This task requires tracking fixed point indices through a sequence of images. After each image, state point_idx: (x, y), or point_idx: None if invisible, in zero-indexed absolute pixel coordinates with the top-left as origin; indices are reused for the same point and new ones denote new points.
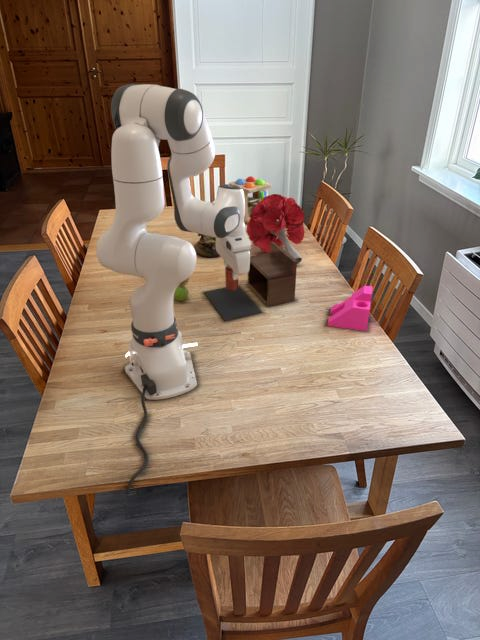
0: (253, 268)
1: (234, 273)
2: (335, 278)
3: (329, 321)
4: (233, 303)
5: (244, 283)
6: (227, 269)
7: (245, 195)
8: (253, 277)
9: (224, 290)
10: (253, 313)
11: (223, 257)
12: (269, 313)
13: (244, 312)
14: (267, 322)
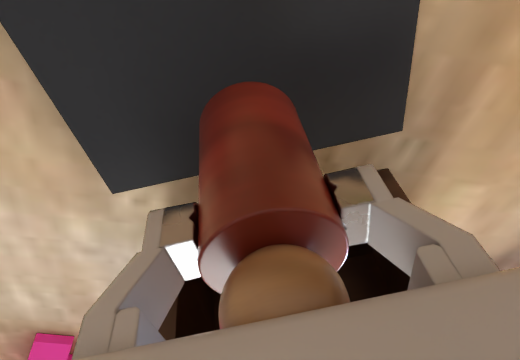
0: None
1: (116, 287)
2: None
3: (37, 348)
4: (209, 77)
5: (405, 157)
6: (259, 228)
7: None
8: None
9: (381, 49)
10: (91, 159)
11: (430, 333)
12: (108, 214)
13: (98, 120)
14: (21, 199)
